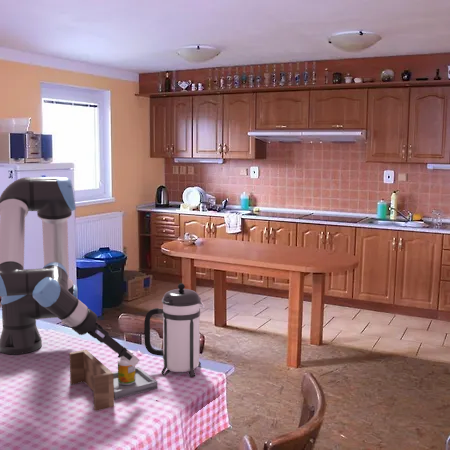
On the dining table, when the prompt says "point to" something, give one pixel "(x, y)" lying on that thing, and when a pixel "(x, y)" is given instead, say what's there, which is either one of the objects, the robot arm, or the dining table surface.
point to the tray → (134, 384)
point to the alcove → (93, 377)
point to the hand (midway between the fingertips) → (127, 356)
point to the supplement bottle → (125, 372)
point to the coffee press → (178, 330)
